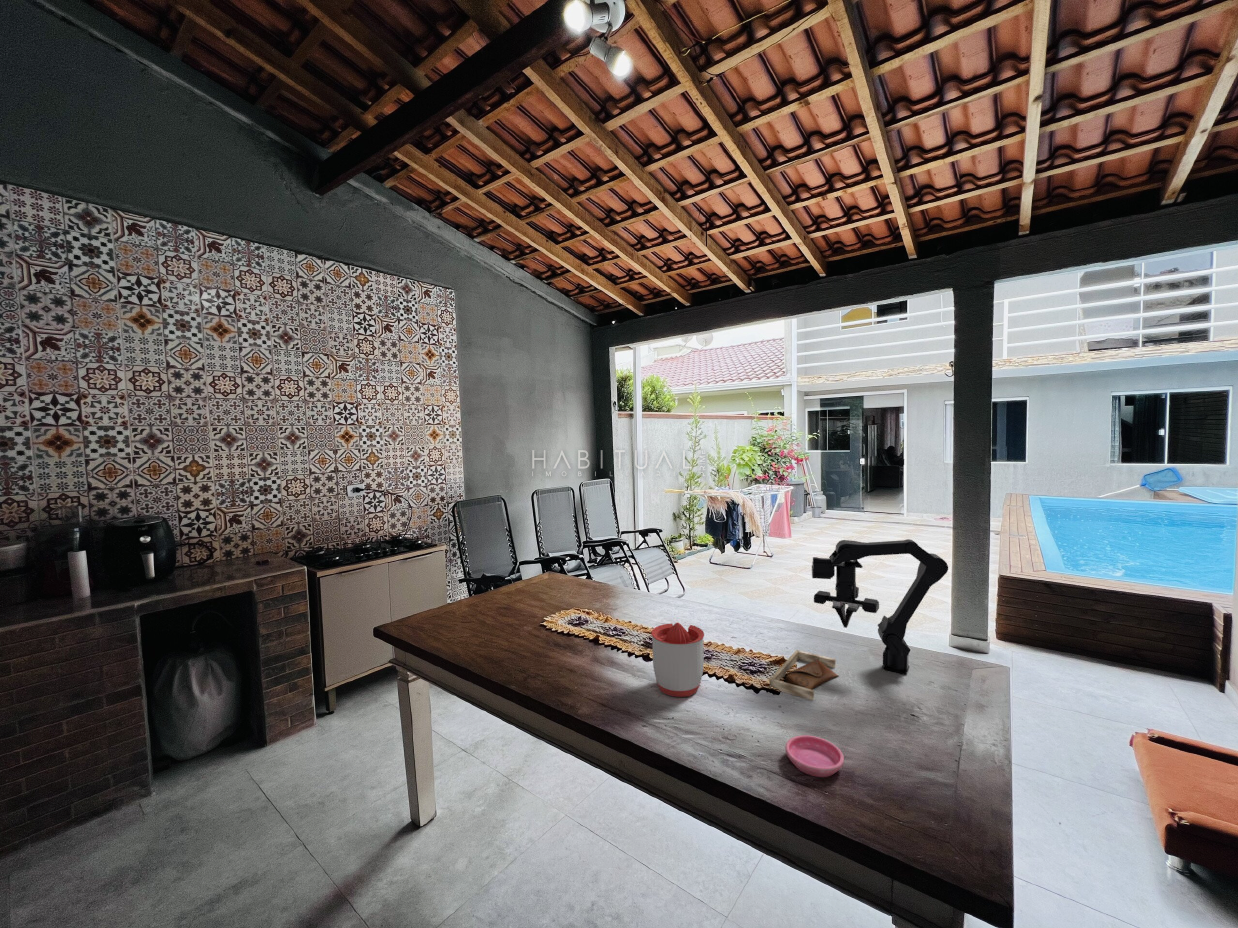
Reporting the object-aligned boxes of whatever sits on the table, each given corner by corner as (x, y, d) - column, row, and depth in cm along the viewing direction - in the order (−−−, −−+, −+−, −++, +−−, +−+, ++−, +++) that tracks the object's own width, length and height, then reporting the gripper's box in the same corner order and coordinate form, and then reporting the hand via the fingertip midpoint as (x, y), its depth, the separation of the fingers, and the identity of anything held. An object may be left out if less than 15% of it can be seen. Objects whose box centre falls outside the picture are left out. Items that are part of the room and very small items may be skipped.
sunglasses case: (808, 694, 145) (797, 670, 147) (790, 698, 150) (780, 675, 152) (841, 675, 156) (830, 653, 158) (822, 679, 161) (813, 658, 163)
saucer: (828, 745, 121) (828, 733, 121) (854, 781, 109) (854, 767, 109) (777, 748, 121) (777, 735, 121) (797, 783, 109) (797, 769, 108)
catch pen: (835, 666, 162) (835, 659, 162) (812, 700, 142) (812, 691, 142) (796, 657, 169) (796, 649, 169) (769, 687, 149) (769, 679, 149)
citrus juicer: (708, 675, 157) (707, 613, 156) (701, 704, 141) (701, 634, 140) (658, 670, 162) (657, 609, 161) (647, 698, 145) (646, 630, 144)
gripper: (882, 578, 163) (882, 625, 164) (822, 570, 175) (822, 614, 175) (876, 587, 155) (875, 636, 155) (813, 577, 166) (813, 624, 167)
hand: (845, 627), depth 163 cm, fingers closed
